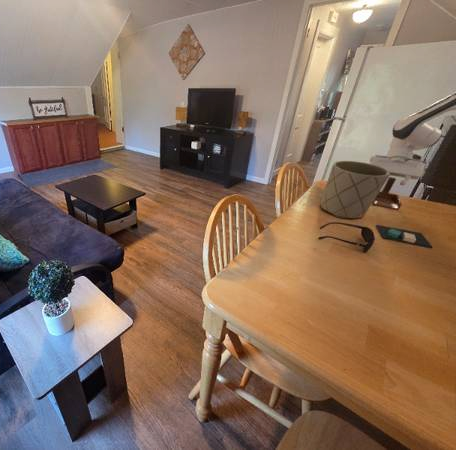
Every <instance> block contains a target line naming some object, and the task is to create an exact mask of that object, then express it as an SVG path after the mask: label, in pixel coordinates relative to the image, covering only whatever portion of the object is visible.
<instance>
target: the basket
mask: <svg viewBox="0 0 456 450" xmlns="http://www.w3.org/2000/svg"><path fill="white" fill-rule="evenodd" d="M396 180H397V179H396V177H393V176H389V177H388V179H387V181H386V182H385V184H384V185H383V187H382V189H381V190H380V192H379V193H378V195H377V196H376V198H375V200H374V201H373V203H372V204H371V205H374V206H376V207H377V206H378V207H381V208H382V207H383V208H387V209H392V210H397V211H398V210H399V209H400V208H401V206H402V200H401V199H400V196H399V194H397V193H396V194H395V193H391V192H390V191H391V190H392V187H393V186H394V184H395V183H396Z"/></svg>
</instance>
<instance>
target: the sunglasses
mask: <svg viewBox="0 0 456 450" xmlns="http://www.w3.org/2000/svg"><path fill="white" fill-rule="evenodd" d="M334 224H335V225H341V226H342V225H343V226H347V227H352V228H356V229H359V230H360V231H361V232H360V235H361V238H362V239H363V240H364V242H365V244H364V243H359V242H355V241H351V240H347V239H343V238H339V237H335V236H331V235H324V236H319V237H318V240H324V239H333V240H336V241H340V242H343V243H346V244H350V245H353V246H357V247H359V248H360V247H361V248H363V249H362V251H363V253H368V252H369V251H370V249H371V248H372V247H373V245H374V242H375V241H376V237H375V233H374V231H373V229H371V228H370V227H368V226H363V225H359V224H353V223H346V222H338V221H332V222H327V223H326V224H323V225H321V226H320V227H319V230H323V229H324V228H326V227H327V226H329V225H334Z"/></svg>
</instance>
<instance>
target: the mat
mask: <svg viewBox="0 0 456 450" xmlns="http://www.w3.org/2000/svg"><path fill="white" fill-rule="evenodd" d="M376 228H377V230H378V232H379V234H380V236H381V237H382V239H383V240H387V241H388V240H389V241H393V242H398V243H403V244H408V245H412V246H417V247H418V246H419V247H423V248H428V249H433V246H432V244H431V243H430V241H428V239H427V237H425V236H424V234H423V233H422V232H418V231H413V230H409V229H403V228H397V227H391V226H385V225H380V224H376ZM391 229H395V230H398V231H400V232H402V233H401V234H400V235H399V236H398V237H397V238H393V237H391V236H388V235H387V233H388V232H389V231H390V230H391ZM404 232H405V233H409V234H413V235H415V238H416V241H415V242H414V243H412V242H408V241H404V240H403V238H402V234H403V233H404Z"/></svg>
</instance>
